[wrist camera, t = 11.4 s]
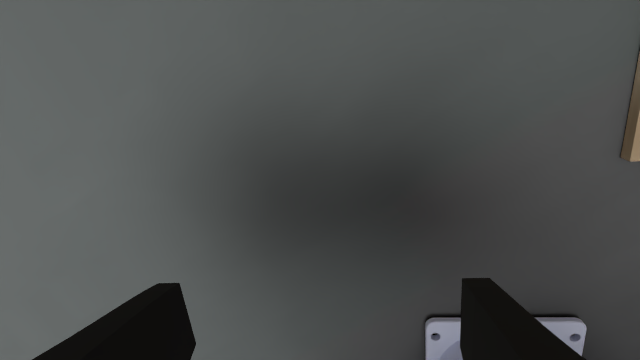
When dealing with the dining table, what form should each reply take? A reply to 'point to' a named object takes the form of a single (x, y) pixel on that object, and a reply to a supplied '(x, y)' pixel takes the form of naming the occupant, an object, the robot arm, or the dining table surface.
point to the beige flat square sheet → (633, 123)
